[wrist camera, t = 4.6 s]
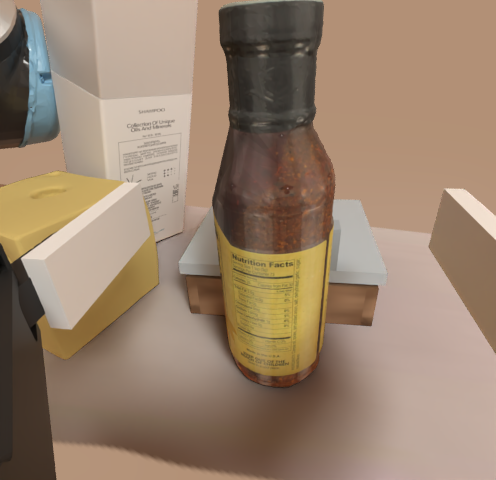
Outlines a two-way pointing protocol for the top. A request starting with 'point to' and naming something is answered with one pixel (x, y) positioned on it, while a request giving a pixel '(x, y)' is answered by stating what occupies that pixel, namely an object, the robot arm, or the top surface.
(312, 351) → the sauce bottle
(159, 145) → the tall white carton
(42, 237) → the cheese
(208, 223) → the lid
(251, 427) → the top surface
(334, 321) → the brown flat block
